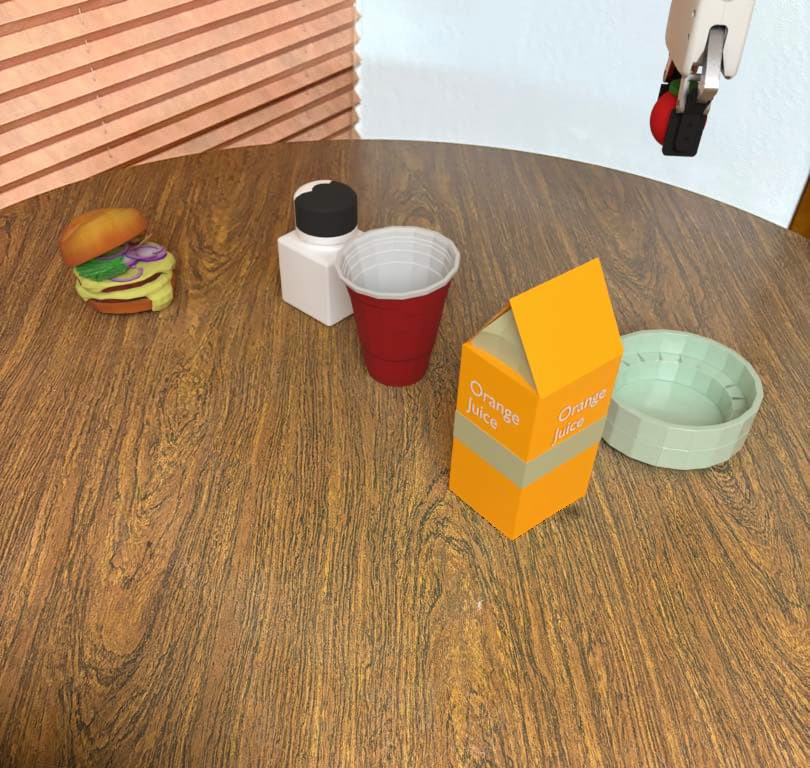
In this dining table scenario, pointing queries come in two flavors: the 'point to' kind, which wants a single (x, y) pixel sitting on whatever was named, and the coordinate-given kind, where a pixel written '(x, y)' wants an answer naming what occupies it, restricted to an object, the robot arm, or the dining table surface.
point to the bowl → (681, 400)
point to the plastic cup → (397, 297)
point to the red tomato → (666, 110)
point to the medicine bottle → (318, 250)
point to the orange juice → (535, 401)
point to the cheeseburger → (118, 262)
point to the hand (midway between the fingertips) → (673, 139)
